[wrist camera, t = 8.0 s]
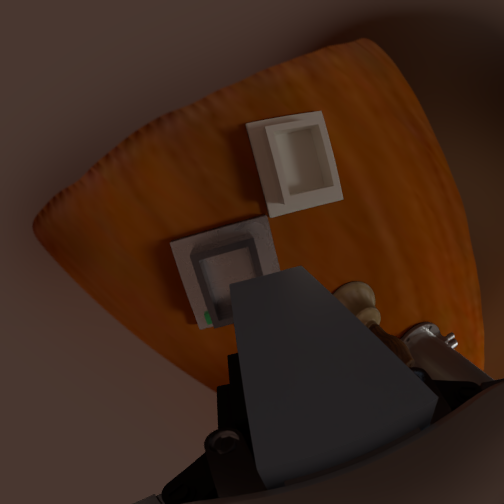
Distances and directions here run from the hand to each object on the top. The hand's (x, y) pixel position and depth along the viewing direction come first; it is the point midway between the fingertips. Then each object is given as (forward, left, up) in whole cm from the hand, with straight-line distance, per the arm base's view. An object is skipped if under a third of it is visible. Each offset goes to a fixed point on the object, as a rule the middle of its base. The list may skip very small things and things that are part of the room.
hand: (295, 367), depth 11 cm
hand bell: (-13, +13, -24) cm, 31 cm away
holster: (-9, -9, -24) cm, 27 cm away
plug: (0, 0, -4) cm, 4 cm away
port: (+2, +2, -24) cm, 24 cm away
